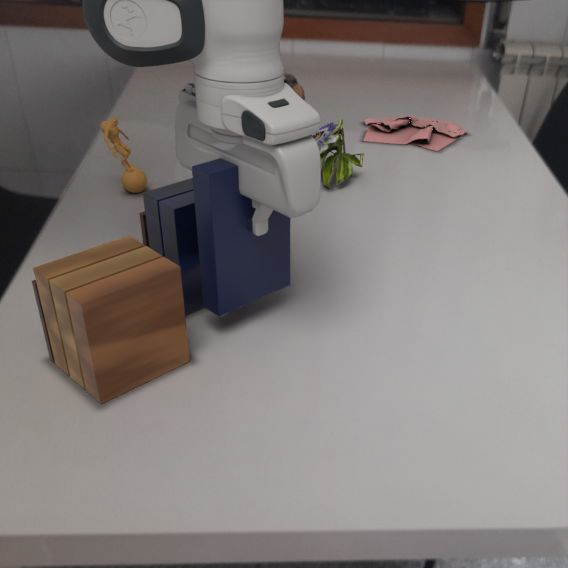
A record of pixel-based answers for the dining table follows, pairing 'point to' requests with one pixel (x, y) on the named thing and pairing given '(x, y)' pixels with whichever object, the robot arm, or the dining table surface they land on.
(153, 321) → the tan books
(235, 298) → the navy book
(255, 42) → the robot arm
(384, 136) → the cloth
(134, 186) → the figurine
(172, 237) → the navy books
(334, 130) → the passion flower
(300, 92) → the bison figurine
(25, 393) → the dining table surface
